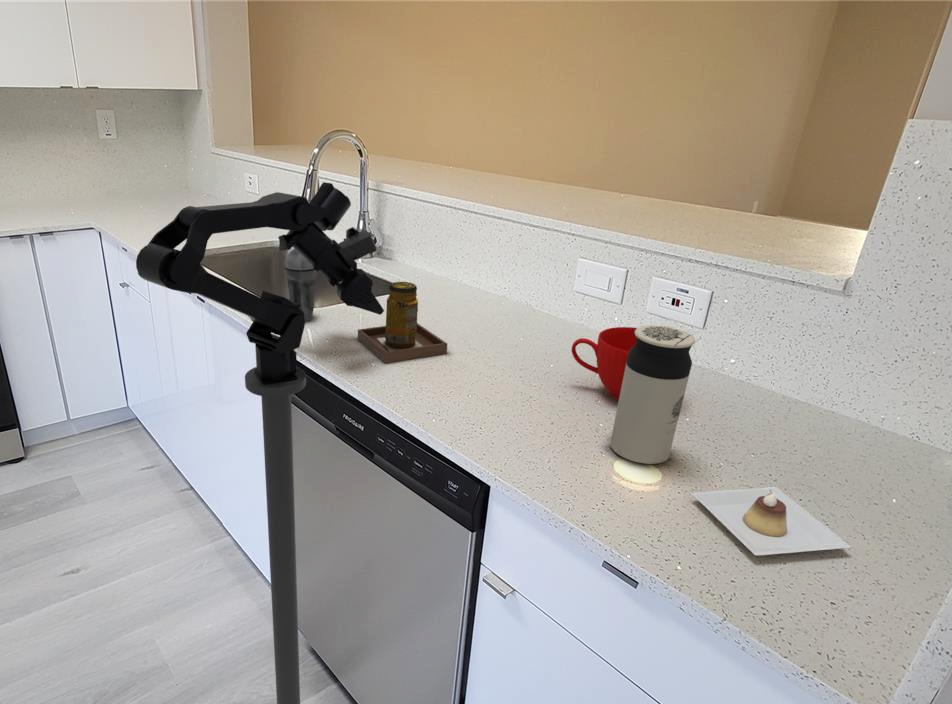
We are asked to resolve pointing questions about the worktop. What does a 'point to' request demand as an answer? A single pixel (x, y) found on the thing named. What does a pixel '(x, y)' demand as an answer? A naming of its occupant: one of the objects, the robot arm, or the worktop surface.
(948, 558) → the worktop surface
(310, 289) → the beverage cup
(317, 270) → the robot arm
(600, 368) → the ceramic cup
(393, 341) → the condiment
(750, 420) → the worktop surface
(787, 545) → the dessert
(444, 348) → the tray
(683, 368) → the travel mug
